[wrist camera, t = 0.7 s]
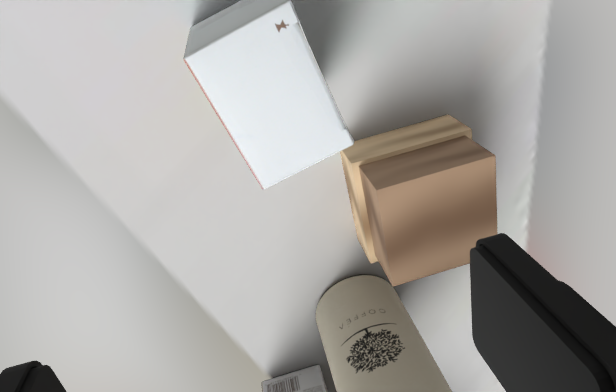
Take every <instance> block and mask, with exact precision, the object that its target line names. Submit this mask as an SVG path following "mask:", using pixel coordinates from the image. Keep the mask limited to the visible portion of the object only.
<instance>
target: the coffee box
mask: <svg viewBox="0 0 616 392" xmlns="http://www.w3.org/2000/svg"><path fill="white" fill-rule="evenodd" d="M262 392H328V391H327V388H326V384H325V381H324V378H323V374H322V371H321V367H320V365H315V366H312V367H308V368H305V369H302V370H299V371H295V372H292V373H289V374H286V375H282V376H279V377H276V378H273V379H269V380H266V381H263V382H262Z"/></svg>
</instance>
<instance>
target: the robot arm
mask: <svg viewBox="0 0 616 392" xmlns="http://www.w3.org/2000/svg"><path fill="white" fill-rule="evenodd" d="M470 277H471V306H472V335H473V340H474V343H475V346H476V348H477V350H478V351H479V353H480V354H481V356H482V357H483V359H484V360H485V362H486V363H487V365H488V366H489V367H490V369H491V370H492V372H493V373H494V375H495V376H496V377H497V379H498V380H499V382H500V383H501V385H502V386H503V388H504V389H505V390H506V392H616V327H615V326H614V325H613V324H612V323H611V322H610V321H608V320H607V319H606V318H605V317H604V316H603V315H602V314H600V313H599V312H598V311H597V310H596V309H595V308H594V307H592V306H591V305H590V304H589V303H588V302H587V301H586V300H584V299H583V298H582V297H581V296H580V295H579V294H578V293H577V292H575V291H574V290H573V289H572V288H571V287H570V286H568V285H567V284H565V283H564V282H561V281H558V280H557V279H555V278H554V277H553V276H552V275H551V274H550V273H549V272H548V271H547V270H545V269H544V268H543V267H542V266H541V265H540V264H539V263H538V262H536V261H535V260H534V259H533V258H532V257H531V256H530V255H529V254H527V253H526V252H525V251H524V250H523V249H522V248H521V247H520V246H519V245H517V244H516V243H515V242H514V241H513V240H512V239H511V238H510V237H509V236H507V235H506V234H504V233H500V234H497V235H493V236H489V237H486V238H482V239H479V240H477V242H476V247H474V248H471V250H470ZM0 392H66V390H65V389H64V387H63V386H62V384H61V383H60V381H59V380H58V378H57V377H56V375H55V373H54V372H53V370H52V369H51V368H50V367H49V366H48V365H44V366H43V365H42V364H41V363H40V362H38V361H31V362H27V363H24V364H20V365H16V366H13V367H9V368H6V369H5V370H3V371H2V373H1V374H0Z"/></svg>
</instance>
